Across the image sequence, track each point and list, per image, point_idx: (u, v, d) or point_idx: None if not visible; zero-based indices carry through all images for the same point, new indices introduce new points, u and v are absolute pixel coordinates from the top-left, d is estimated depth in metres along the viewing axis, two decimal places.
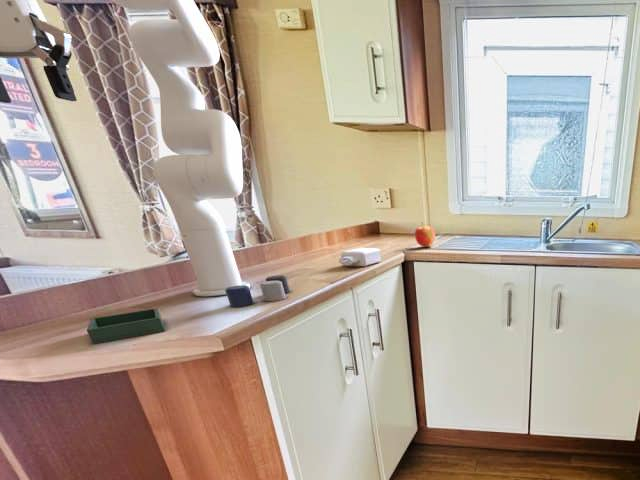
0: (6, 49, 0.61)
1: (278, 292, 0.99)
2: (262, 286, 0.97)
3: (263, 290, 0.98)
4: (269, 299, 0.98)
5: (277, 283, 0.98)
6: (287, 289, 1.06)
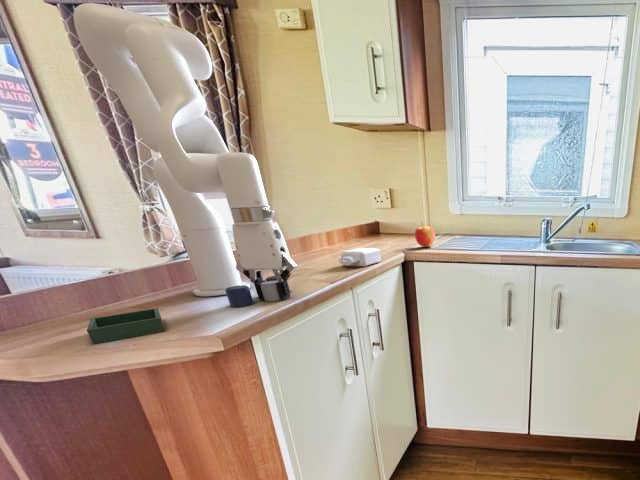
0: (264, 269, 0.96)
1: None
2: (262, 286, 0.97)
3: (263, 290, 0.98)
4: (269, 299, 0.98)
5: None
6: None
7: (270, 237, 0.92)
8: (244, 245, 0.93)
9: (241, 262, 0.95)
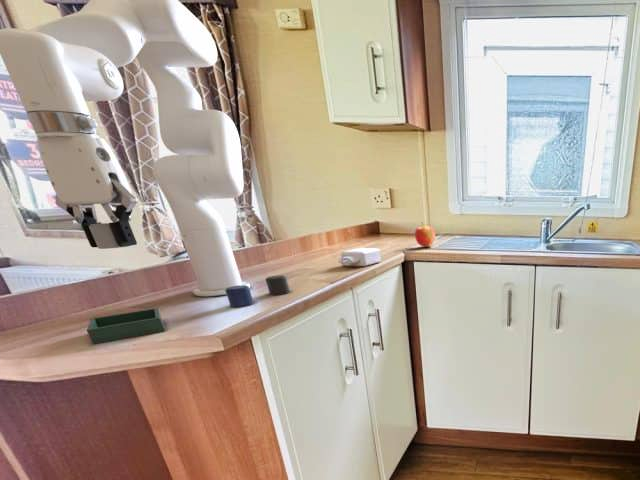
0: (90, 203, 0.71)
1: (114, 237, 0.74)
2: (90, 227, 0.73)
3: (92, 233, 0.73)
4: (102, 245, 0.74)
5: None
6: (287, 289, 1.06)
7: (89, 156, 0.68)
8: (56, 168, 0.69)
9: (57, 193, 0.71)
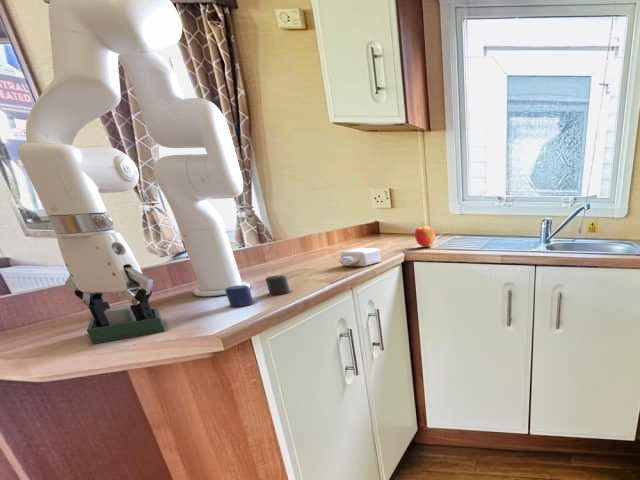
0: (107, 292, 0.75)
1: (128, 321, 0.78)
2: (105, 313, 0.77)
3: (107, 318, 0.77)
4: None
5: (126, 309, 0.78)
6: (287, 289, 1.06)
7: (106, 252, 0.72)
8: (75, 262, 0.73)
9: (76, 284, 0.75)
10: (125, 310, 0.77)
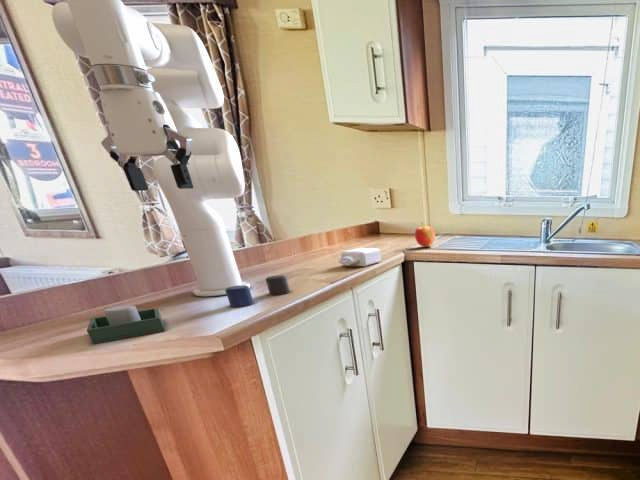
0: (146, 153, 0.77)
1: (128, 321, 0.78)
2: (105, 313, 0.77)
3: (107, 318, 0.77)
4: None
5: (126, 309, 0.78)
6: (287, 289, 1.06)
7: (147, 108, 0.74)
8: (116, 119, 0.75)
9: (116, 144, 0.77)
10: (125, 310, 0.77)
